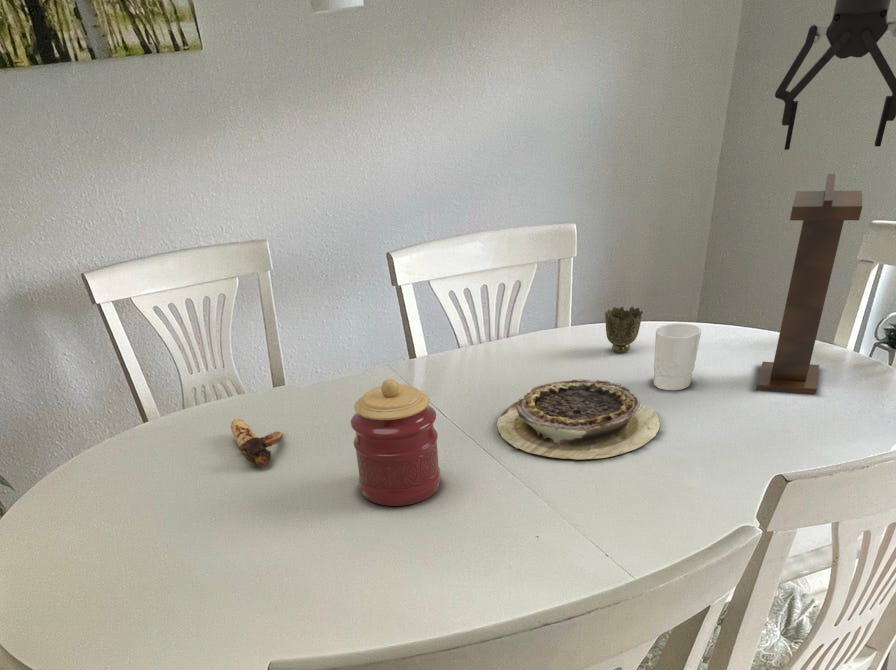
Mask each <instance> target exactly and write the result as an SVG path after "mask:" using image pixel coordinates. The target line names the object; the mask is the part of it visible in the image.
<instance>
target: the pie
mask: <svg viewBox="0 0 896 670" xmlns="http://www.w3.org/2000/svg"><path fill="white" fill-rule="evenodd" d="M660 422H661V421H660V419H659V416H658V415H657V413H656V411H655V410H653V409H652V408H650V407H649V406H648V405H646V404H645V405H644V404H642V403H641V400H640V399H639V398H638V396H636V395H635V394H634V393H631V390H630V388H629V387H628V386H625V385H622V383H617V382H611V381H608V380H601V379H599V380H598V379H596V380H593V379H584V378H582V379H580V378H579V379H576V378H575V379H571V380H562V381H556V382H555V381H554V382H547V383H544V384H540V385H537V386H534V387H532V388H531V389H530V391H529V392H526V394H524V395H523V398H519V400H518V401H516V402H514V403H512V404H511V405H510V406H509V407H508V408H507V409H505V411H504V412H503V413H502V414H501V415H500V417H498V419H497V425H496V426H497V431H498V432H499V434H500V436H501V438H502V439H503V440H504V441H505V442H507V443H508V444H510V445H511V446H512V447H515V449H520V450H522V451H524V452H526V453H529V454H533V455H539V456H542V457H549V458H554V459H555V458H556V459H563V460H564V459H568V460H569V459H570V460H594V459H596V460H597V459H605V458H609V457H610V458H611V457H612V458H613V457H615V456H618V455H622V454H626V453H628V452H631V451H634V450H637V449H639V448H641V447H643V446H644V445H646V444H647V443H649V442H650V441H651V440H653V439H654V438H655V437H656V436H657V434H658V432H659V430H660V428H661V427H660V426H661V423H660Z"/></svg>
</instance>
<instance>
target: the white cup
mask: <svg viewBox="0 0 896 670" xmlns="http://www.w3.org/2000/svg"><path fill="white" fill-rule="evenodd" d="M701 335H702V328H700V327H699V326H697V325H694V324H690V323H668V324H663V325H661V326H658V327H657V328H656V330H655V340H654V341H655V342H654V358H653V381H652V382H653V385H654V387H655V388H658V389H660V390H665V391H680V390H684V389H687V388H689V387H690V385H691V384H692V379H693V372H694V369H695V365H696V361H697V356H698V352H699V351H698V350H699V345H700V339H701Z"/></svg>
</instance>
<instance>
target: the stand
mask: <svg viewBox="0 0 896 670" xmlns="http://www.w3.org/2000/svg"><path fill="white" fill-rule="evenodd" d="M824 194H825V190H810V191H809V190H807V191H806V190H799V191H798V190H797V191H796V192H795V195H794V200H793V203H792V207H791V210H790V211H791V212H790V217H789V221H802V224H801V229H800V230H801V231H800V235H799V239H798V243H797V249H796V253H795V258H794V261H793V262H794V263H793V267H792V272H791V277H790V281H789V287H788V291H787V296H786V302H785V306H784V311H783V315H782V320H781V325H780V331H779V336H778V340H777V345H776V349H775V354H774V359H773V361H762V362H761V367H760V371H759V375H758V379H757V383H756V384H757V385H756V388H755V390H756V391H763V392H765V391H766V392H777V393H791V394H805V395H806V394H807V395H817V391H818V384H819V373H820V372H819V371H820V364H811V361H812V357H813V353H814V349H815V344H816V339H817V336H818V331H819V328H820V323H821V319H822V314H823V312H824V311H823V310H824V307H825V302H826V297H827V294H828V290H829V285H830V282H831V281H830V280H831V277H832V273H833V269H834V264H835V260H836V256H837V252H838V247H839V243H840V239H841V236H842V231H843V227H844V223H845V221H860V218H861V214H862V210H863V190H834V194H833V202H832V207H831V209H823V202H824Z"/></svg>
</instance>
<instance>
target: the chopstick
mask: <svg viewBox="0 0 896 670" xmlns="http://www.w3.org/2000/svg"><path fill="white" fill-rule="evenodd" d="M835 183H836V173H827V176H826V182H825V187H824V191H825V194H824V202H823V209H831V207H832V202H833V194H834V191H835Z"/></svg>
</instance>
